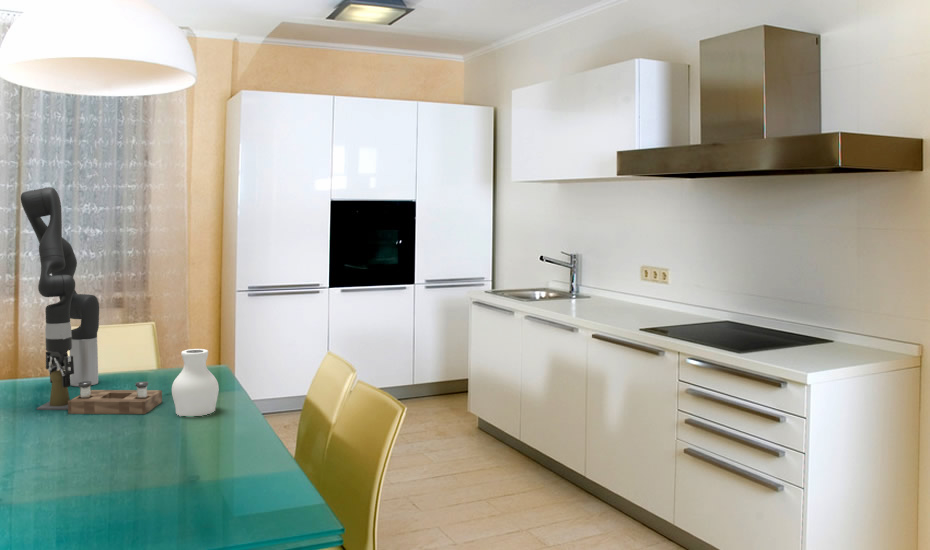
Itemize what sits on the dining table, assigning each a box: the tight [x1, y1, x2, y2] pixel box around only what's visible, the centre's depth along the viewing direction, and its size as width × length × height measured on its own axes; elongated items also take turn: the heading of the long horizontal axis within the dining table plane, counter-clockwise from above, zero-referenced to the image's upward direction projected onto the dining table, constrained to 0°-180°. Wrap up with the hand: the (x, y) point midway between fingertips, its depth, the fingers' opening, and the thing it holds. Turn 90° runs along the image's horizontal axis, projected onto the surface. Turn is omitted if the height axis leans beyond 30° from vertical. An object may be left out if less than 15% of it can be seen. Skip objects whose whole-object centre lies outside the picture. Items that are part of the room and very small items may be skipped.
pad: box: [36, 400, 68, 411], centre depth 249 cm, size 10×10×1 cm
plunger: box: [78, 381, 93, 399], centre depth 245 cm, size 4×4×8 cm
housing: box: [67, 389, 163, 415], centre depth 248 cm, size 15×24×4 cm, turn 93°
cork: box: [49, 369, 71, 406], centre depth 249 cm, size 6×6×11 cm
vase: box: [171, 348, 220, 417], centre depth 244 cm, size 14×14×20 cm
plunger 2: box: [134, 381, 149, 399], centre depth 246 cm, size 4×4×8 cm
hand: (60, 384), depth 249 cm, fingers open, 8 cm apart
